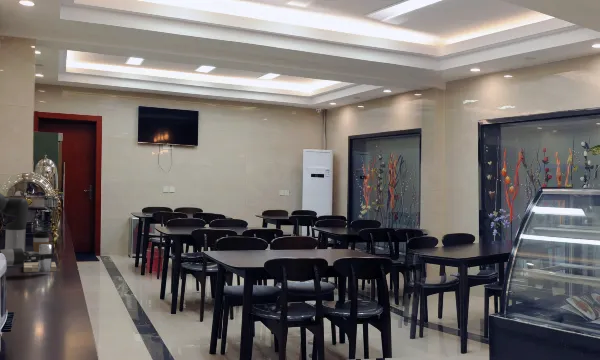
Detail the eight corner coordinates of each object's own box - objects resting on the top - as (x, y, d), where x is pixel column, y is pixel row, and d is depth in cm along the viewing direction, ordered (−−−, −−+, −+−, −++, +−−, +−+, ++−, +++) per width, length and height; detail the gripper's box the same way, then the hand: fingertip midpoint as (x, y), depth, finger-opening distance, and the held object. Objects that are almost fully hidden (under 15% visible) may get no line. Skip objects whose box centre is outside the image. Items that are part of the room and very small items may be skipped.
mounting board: (23, 266, 284) (24, 262, 284) (54, 266, 290) (54, 262, 290) (23, 272, 267) (23, 267, 267) (56, 271, 273) (56, 267, 273)
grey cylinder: (39, 272, 259) (41, 245, 260) (36, 270, 263) (37, 244, 264) (52, 271, 263) (53, 245, 263) (49, 269, 267) (50, 244, 267)
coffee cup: (51, 259, 312) (52, 232, 313) (43, 261, 304) (44, 233, 304) (37, 259, 313) (38, 231, 313) (28, 260, 305) (29, 232, 305)
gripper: (15, 250, 248) (56, 248, 259) (7, 246, 259) (46, 245, 270) (14, 267, 248) (55, 265, 259) (6, 263, 259) (45, 261, 270)
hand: (50, 255), depth 265 cm, fingers closed on grey cylinder, 5 cm apart
